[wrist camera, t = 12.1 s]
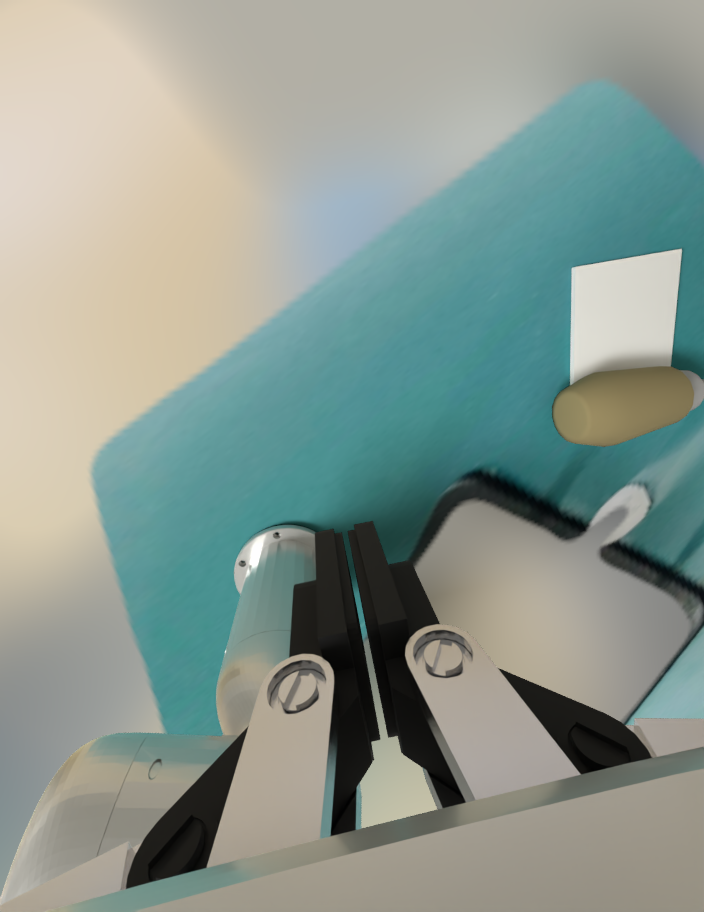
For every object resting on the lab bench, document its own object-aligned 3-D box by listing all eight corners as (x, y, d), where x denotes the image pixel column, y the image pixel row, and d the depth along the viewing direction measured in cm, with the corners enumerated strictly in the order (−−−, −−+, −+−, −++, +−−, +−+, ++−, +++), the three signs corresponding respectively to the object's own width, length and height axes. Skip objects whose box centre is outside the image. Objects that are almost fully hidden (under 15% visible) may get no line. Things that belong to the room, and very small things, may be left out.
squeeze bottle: (605, 457, 36) (756, 419, 39) (595, 373, 35) (751, 340, 38) (548, 451, 44) (677, 420, 47) (538, 382, 43) (670, 355, 46)
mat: (661, 411, 46) (666, 412, 46) (569, 429, 46) (572, 430, 45) (676, 249, 41) (681, 248, 40) (571, 267, 40) (575, 266, 39)
